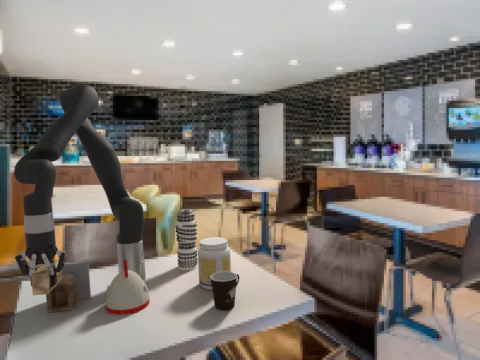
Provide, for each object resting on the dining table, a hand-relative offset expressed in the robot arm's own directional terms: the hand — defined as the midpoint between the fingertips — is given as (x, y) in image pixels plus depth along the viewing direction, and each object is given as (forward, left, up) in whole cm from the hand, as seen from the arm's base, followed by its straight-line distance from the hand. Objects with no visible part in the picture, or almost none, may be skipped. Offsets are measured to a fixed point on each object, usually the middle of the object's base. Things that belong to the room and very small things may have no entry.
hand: (44, 286), depth 104 cm
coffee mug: (-54, -4, -13) cm, 56 cm away
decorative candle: (-41, -44, -13) cm, 61 cm away
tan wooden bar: (0, -3, -1) cm, 3 cm away
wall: (0, -19, -13) cm, 23 cm away
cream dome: (-21, -11, -13) cm, 27 cm away
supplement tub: (-51, -22, -13) cm, 57 cm away
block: (0, -13, -13) cm, 18 cm away
